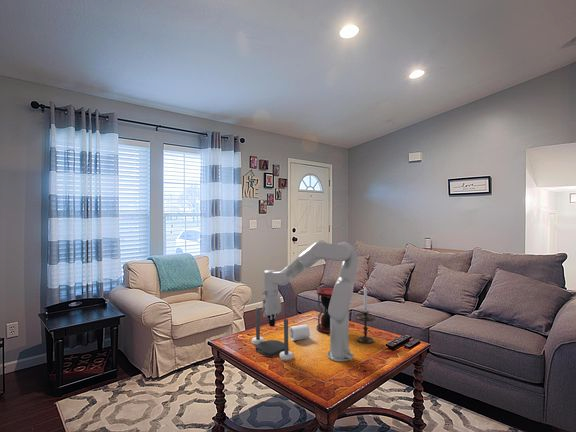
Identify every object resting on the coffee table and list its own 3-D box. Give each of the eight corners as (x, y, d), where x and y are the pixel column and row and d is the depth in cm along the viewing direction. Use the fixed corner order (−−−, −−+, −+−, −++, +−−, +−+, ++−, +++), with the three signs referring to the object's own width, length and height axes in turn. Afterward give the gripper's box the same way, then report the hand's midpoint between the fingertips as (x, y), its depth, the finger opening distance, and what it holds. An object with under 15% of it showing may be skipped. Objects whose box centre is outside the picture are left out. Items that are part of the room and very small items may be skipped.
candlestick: (354, 343, 195) (354, 282, 194) (357, 336, 205) (357, 278, 204) (374, 345, 192) (374, 283, 190) (375, 338, 202) (375, 279, 201)
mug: (309, 340, 200) (309, 326, 200) (294, 343, 196) (294, 329, 196) (301, 333, 211) (301, 320, 211) (286, 335, 207) (286, 322, 207)
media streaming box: (290, 350, 187) (290, 345, 187) (269, 358, 177) (269, 353, 177) (272, 342, 198) (272, 337, 198) (252, 350, 188) (252, 344, 188)
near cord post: (295, 357, 177) (295, 320, 176) (285, 362, 172) (285, 323, 172) (287, 353, 182) (286, 316, 181) (277, 357, 178) (276, 319, 177)
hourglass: (312, 326, 222) (312, 288, 221) (335, 324, 227) (335, 286, 226) (322, 335, 207) (322, 295, 206) (346, 332, 211) (346, 292, 210)
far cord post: (266, 342, 197) (266, 308, 196) (256, 345, 192) (256, 310, 192) (259, 339, 202) (259, 305, 202) (249, 342, 198) (249, 308, 197)
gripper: (264, 296, 179) (265, 331, 179) (286, 291, 188) (286, 324, 189) (255, 294, 184) (256, 327, 185) (277, 289, 194) (278, 321, 194)
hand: (272, 325), depth 187 cm, fingers closed
